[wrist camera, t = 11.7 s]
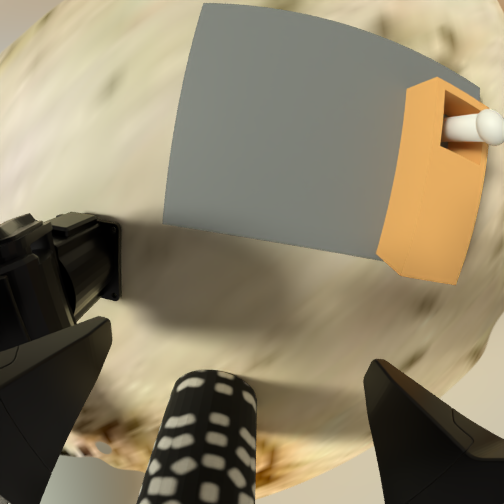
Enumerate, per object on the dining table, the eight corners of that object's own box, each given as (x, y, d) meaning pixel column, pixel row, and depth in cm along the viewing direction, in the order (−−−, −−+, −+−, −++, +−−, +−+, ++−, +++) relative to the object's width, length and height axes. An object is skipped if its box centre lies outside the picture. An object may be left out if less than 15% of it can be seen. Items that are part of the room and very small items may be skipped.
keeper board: (438, 266, 20) (505, 317, 12) (169, 219, 19) (108, 263, 11) (469, 90, 15) (542, 77, 7) (207, 12, 14) (177, -61, 6)
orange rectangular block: (427, 264, 18) (455, 285, 15) (375, 253, 18) (400, 276, 15) (456, 113, 15) (490, 109, 11) (406, 88, 15) (437, 76, 11)
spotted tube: (181, 358, 23) (114, 574, 4) (269, 384, 24) (274, 598, 5) (167, 409, 26) (120, 573, 7) (241, 430, 26) (230, 594, 7)
